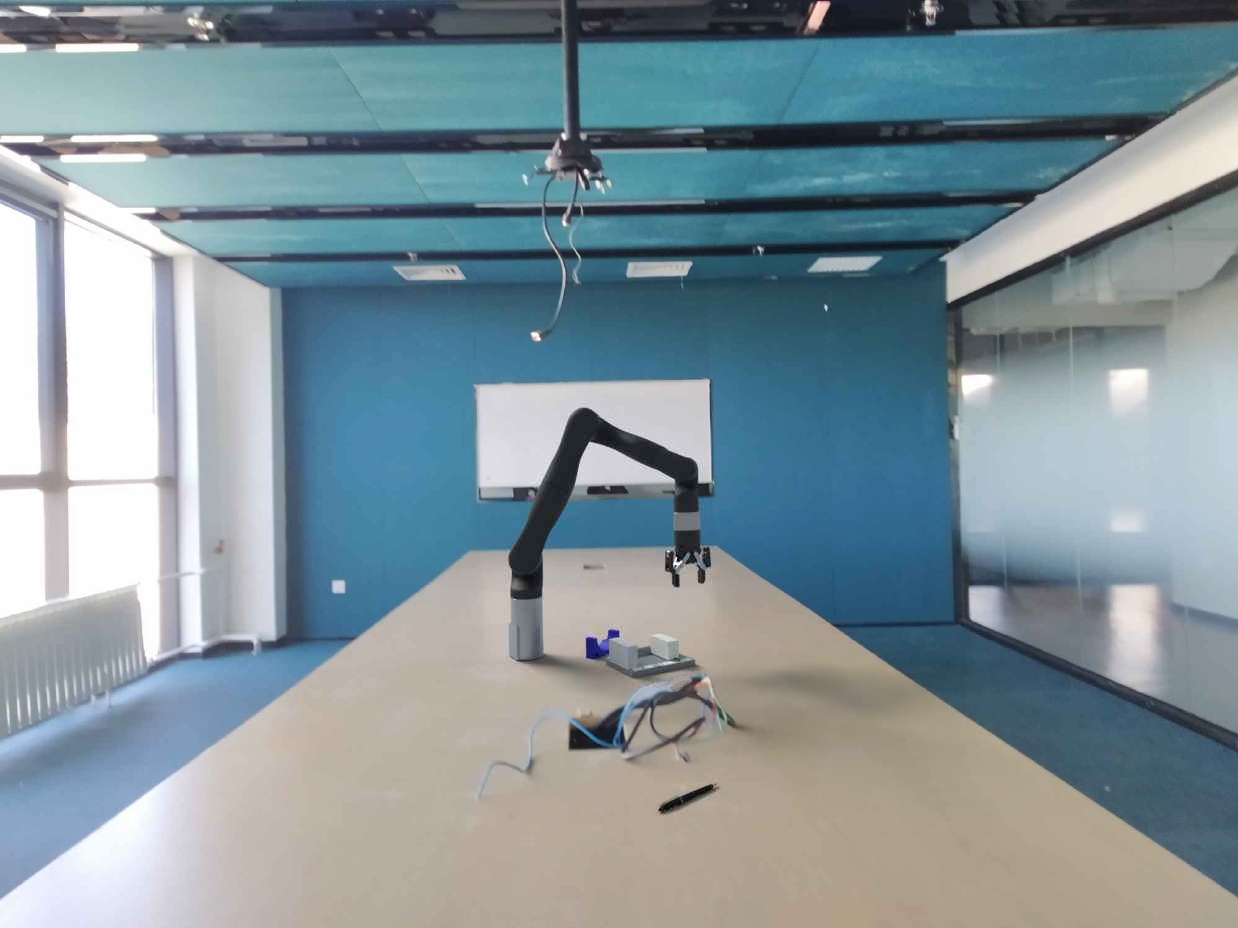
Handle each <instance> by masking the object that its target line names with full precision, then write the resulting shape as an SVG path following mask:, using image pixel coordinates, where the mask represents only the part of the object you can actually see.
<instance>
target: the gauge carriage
mask: <svg viewBox="0 0 1238 928" xmlns="http://www.w3.org/2000/svg"><path fill="white" fill-rule="evenodd" d="M649 638H650V645H651V653H652V654H654V655H657V656H659V657H661V658H664V659H666V660H674V659H675V660H677V661H681V659H679V652H680V651H679V646H680V645H679V640H678V639H677V638H674V637H670V636H667V635H666V634H663V633H661V632H660V633H657V634H650V637H649Z"/></svg>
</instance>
